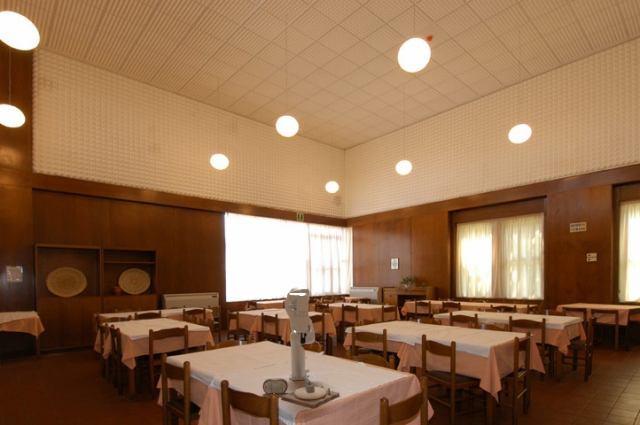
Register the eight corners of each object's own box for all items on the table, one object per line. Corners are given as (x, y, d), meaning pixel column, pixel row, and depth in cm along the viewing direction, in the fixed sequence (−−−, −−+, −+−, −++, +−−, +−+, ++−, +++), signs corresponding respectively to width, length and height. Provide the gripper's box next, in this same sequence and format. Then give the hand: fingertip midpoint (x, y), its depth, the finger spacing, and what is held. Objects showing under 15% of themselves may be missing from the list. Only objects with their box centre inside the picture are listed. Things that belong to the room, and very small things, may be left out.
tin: (287, 392, 231) (287, 377, 232) (287, 394, 228) (287, 379, 229) (263, 393, 231) (263, 378, 232) (262, 394, 227) (262, 380, 229)
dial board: (308, 388, 238) (308, 378, 239) (339, 395, 223) (339, 385, 224) (281, 399, 219) (281, 388, 220) (313, 408, 204) (312, 396, 205)
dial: (330, 397, 216) (329, 384, 217) (299, 401, 210) (299, 388, 211) (320, 387, 233) (319, 376, 233) (291, 391, 227) (291, 379, 228)
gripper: (290, 313, 245) (290, 343, 243) (307, 315, 236) (308, 345, 234) (297, 312, 251) (298, 341, 249) (315, 314, 242) (315, 343, 239)
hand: (303, 343), depth 241 cm, fingers closed
